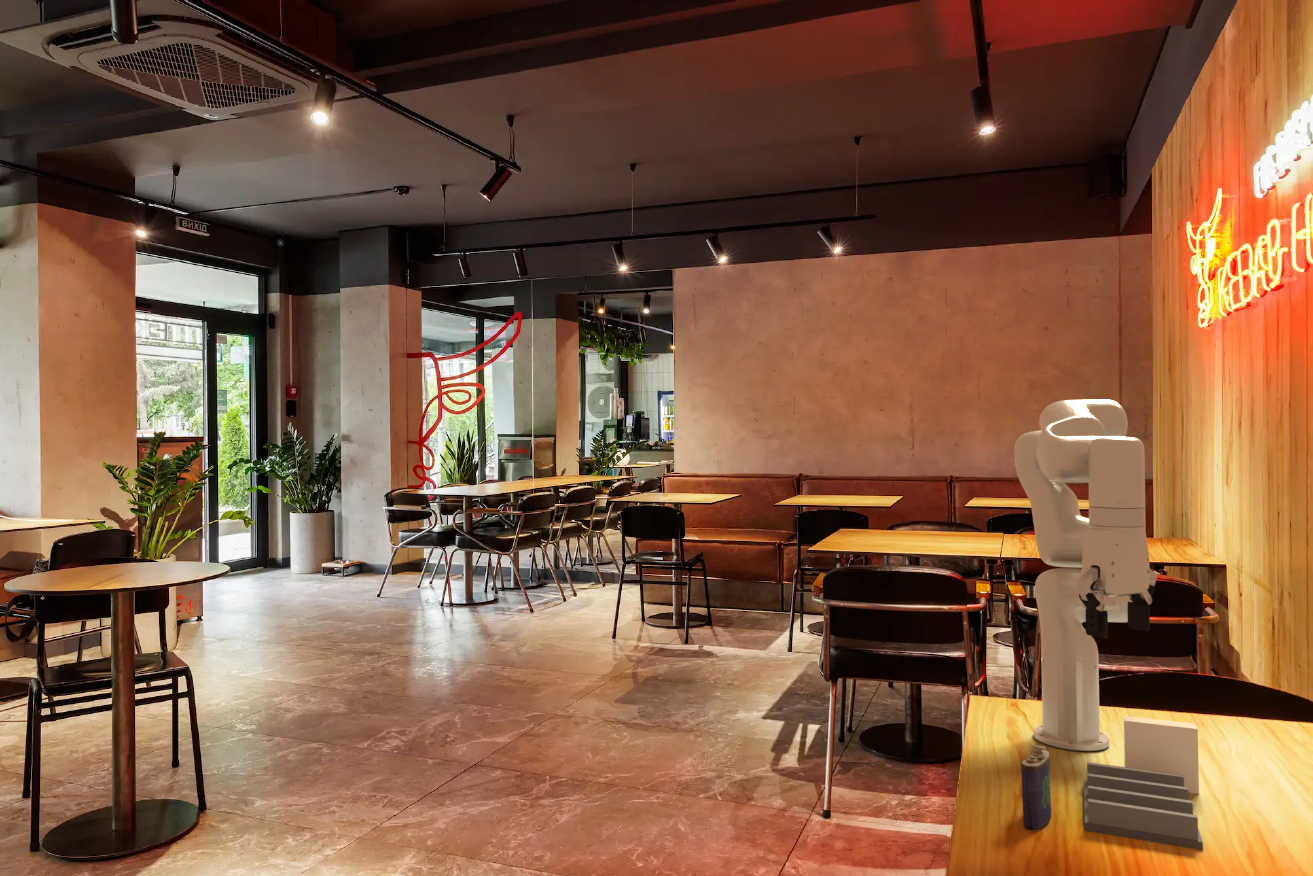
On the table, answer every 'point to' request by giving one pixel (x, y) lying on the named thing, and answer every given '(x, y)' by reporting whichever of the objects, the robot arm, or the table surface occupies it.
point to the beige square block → (1162, 748)
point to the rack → (1140, 805)
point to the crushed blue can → (1036, 789)
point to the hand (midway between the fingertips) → (1118, 633)
